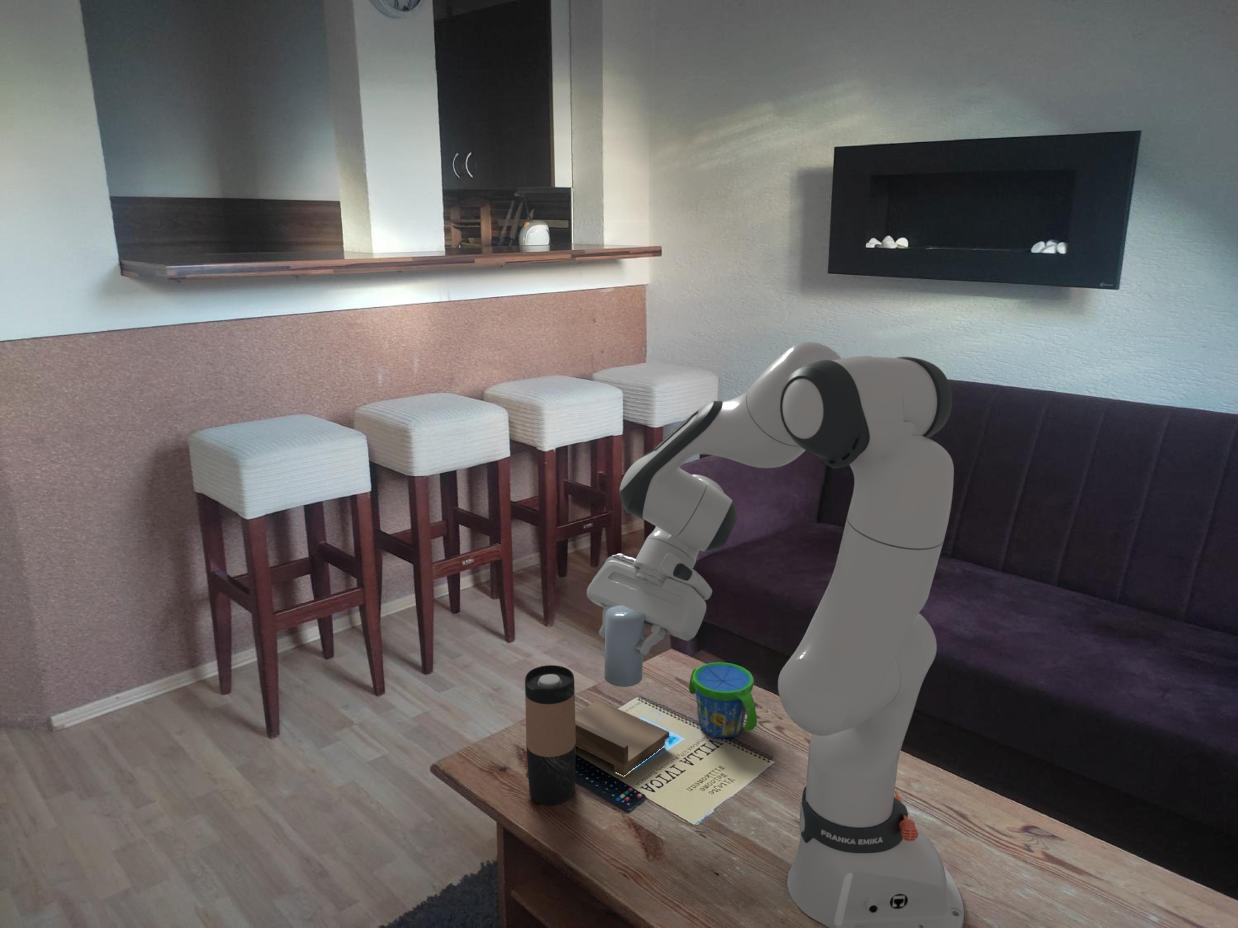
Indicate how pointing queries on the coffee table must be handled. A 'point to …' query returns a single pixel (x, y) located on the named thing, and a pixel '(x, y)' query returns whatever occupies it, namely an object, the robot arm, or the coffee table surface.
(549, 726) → the travel mug
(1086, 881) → the coffee table surface
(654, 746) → the brown wooden box
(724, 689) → the snack cup
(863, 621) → the robot arm
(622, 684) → the grey rounded cylinder
